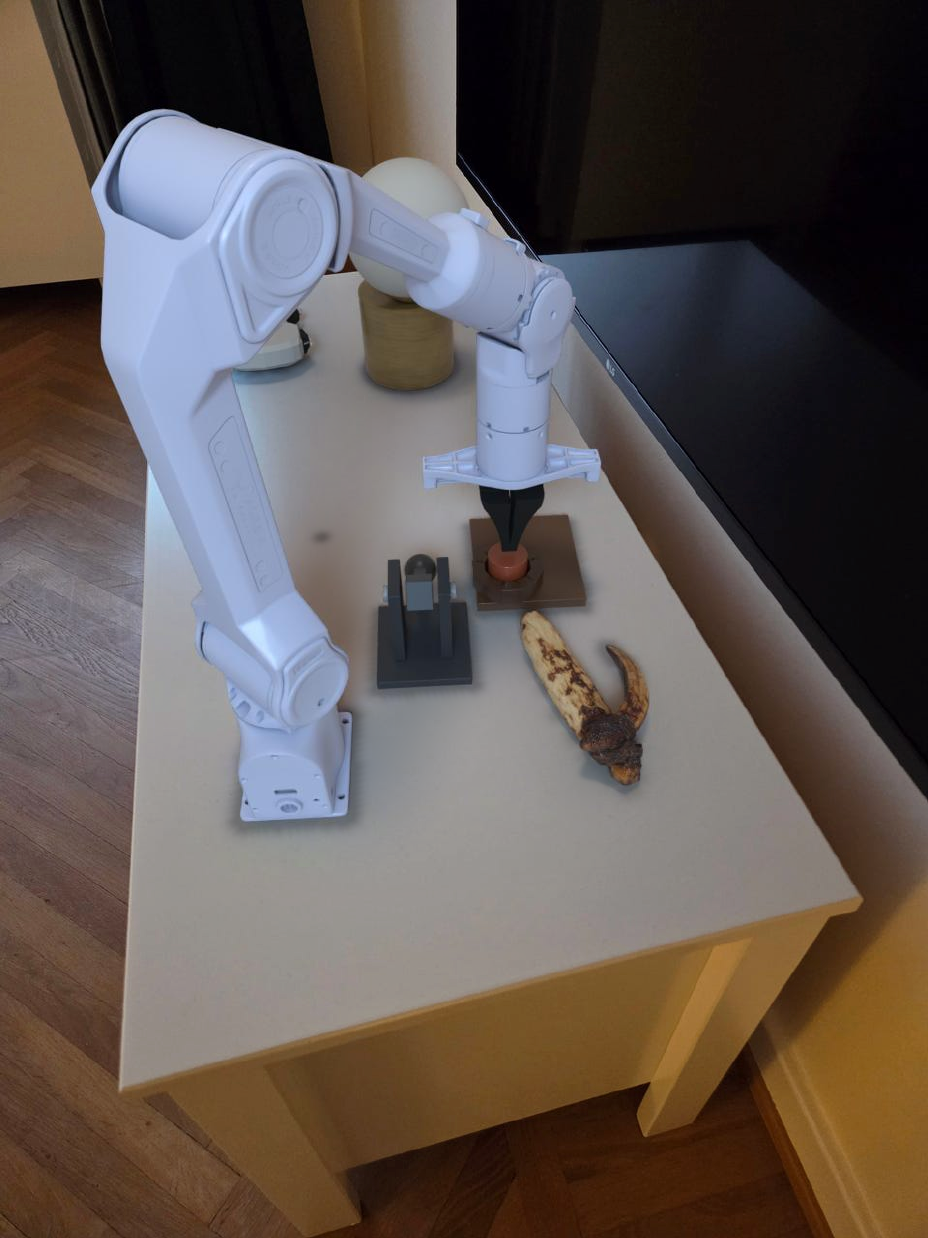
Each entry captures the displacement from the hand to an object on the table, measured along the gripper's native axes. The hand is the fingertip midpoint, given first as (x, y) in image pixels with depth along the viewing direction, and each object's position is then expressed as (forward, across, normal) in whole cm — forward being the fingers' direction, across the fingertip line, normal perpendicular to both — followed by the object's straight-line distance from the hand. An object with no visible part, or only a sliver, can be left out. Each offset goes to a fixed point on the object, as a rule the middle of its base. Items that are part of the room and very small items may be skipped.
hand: (508, 544), depth 75 cm
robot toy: (+3, +28, -45) cm, 53 cm away
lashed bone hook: (+6, -6, +14) cm, 16 cm away
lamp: (+6, +8, -39) cm, 40 cm away
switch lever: (+2, +8, +4) cm, 9 cm away
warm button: (+3, 0, 0) cm, 3 cm away
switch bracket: (+6, +8, +7) cm, 12 cm away
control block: (+6, -2, -3) cm, 7 cm away
